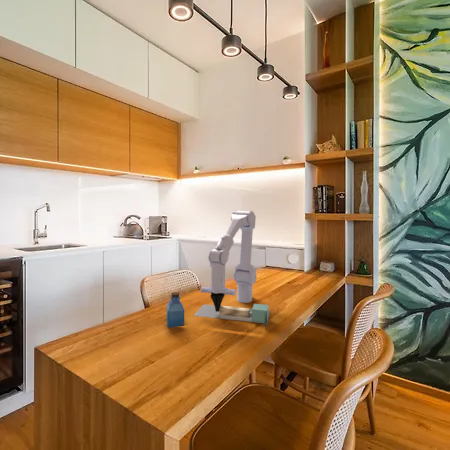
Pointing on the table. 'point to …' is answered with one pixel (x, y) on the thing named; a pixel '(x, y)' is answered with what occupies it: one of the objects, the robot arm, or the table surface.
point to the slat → (234, 311)
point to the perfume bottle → (175, 311)
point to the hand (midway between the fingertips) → (217, 310)
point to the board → (256, 315)
